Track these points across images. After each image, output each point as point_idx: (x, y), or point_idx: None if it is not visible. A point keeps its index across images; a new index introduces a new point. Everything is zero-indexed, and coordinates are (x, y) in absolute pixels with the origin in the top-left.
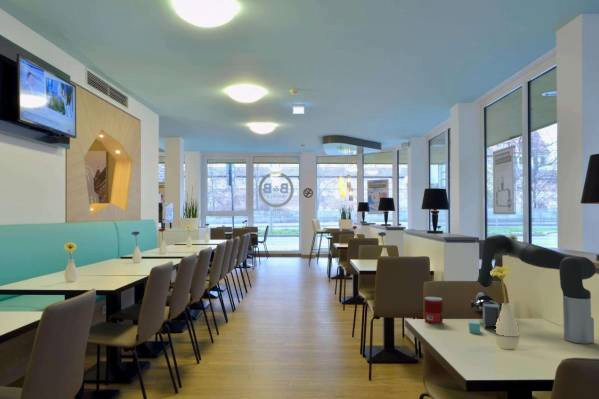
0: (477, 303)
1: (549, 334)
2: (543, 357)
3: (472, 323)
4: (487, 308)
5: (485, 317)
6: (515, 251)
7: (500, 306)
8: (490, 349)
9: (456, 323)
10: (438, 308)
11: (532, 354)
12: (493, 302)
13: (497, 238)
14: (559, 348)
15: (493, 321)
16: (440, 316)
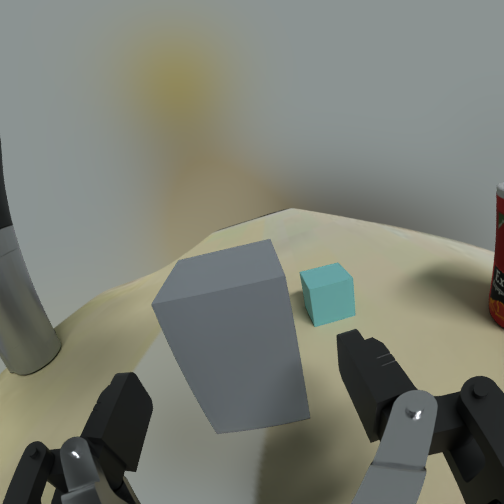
0: (384, 384)
1: (51, 389)
2: None
3: (327, 265)
4: (251, 321)
5: (283, 378)
6: None
7: (93, 412)
8: None
9: (457, 365)
10: (496, 231)
11: None
12: (101, 496)
13: None
14: (122, 302)
15: (232, 404)
16: (493, 277)
